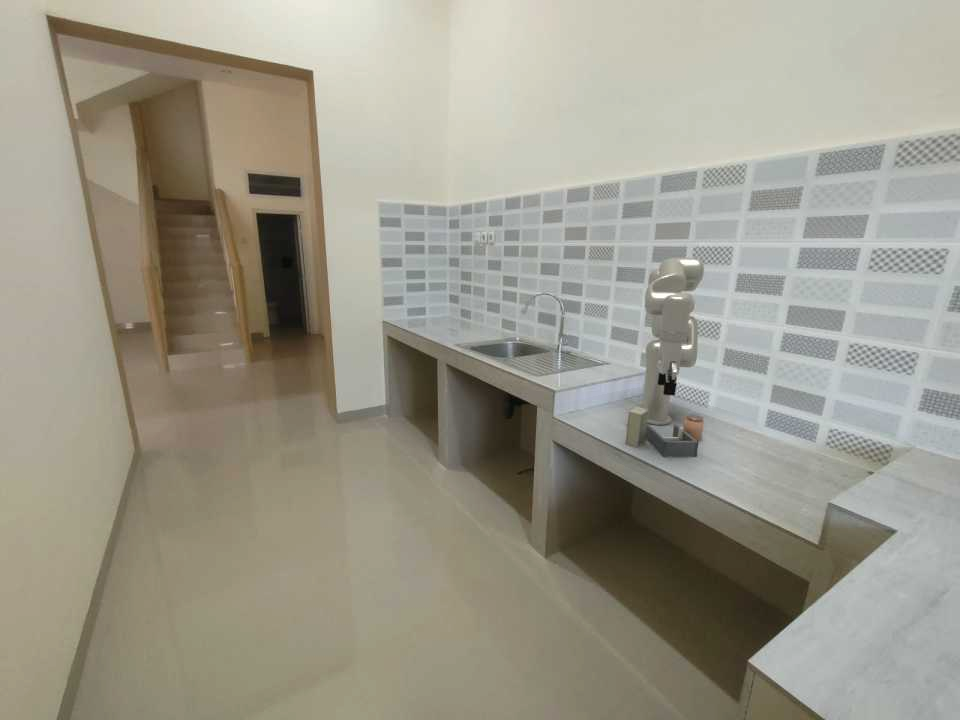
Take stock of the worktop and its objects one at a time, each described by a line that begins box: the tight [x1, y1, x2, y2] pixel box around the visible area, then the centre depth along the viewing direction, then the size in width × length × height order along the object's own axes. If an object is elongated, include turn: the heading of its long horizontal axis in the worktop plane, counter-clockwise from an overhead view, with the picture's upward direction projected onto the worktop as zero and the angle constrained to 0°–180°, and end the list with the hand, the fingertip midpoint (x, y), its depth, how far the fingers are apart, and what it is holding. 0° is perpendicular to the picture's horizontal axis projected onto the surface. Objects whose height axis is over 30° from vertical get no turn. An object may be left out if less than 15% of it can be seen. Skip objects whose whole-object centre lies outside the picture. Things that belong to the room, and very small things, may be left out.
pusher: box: [662, 427, 684, 441], centre depth 140 cm, size 1×8×6 cm, turn 93°
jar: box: [682, 414, 705, 442], centre depth 146 cm, size 6×6×8 cm
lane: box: [645, 424, 700, 458], centre depth 139 cm, size 14×11×5 cm
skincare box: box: [624, 406, 649, 448], centre depth 141 cm, size 6×4×12 cm
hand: (665, 389), depth 131 cm, fingers open, 9 cm apart
